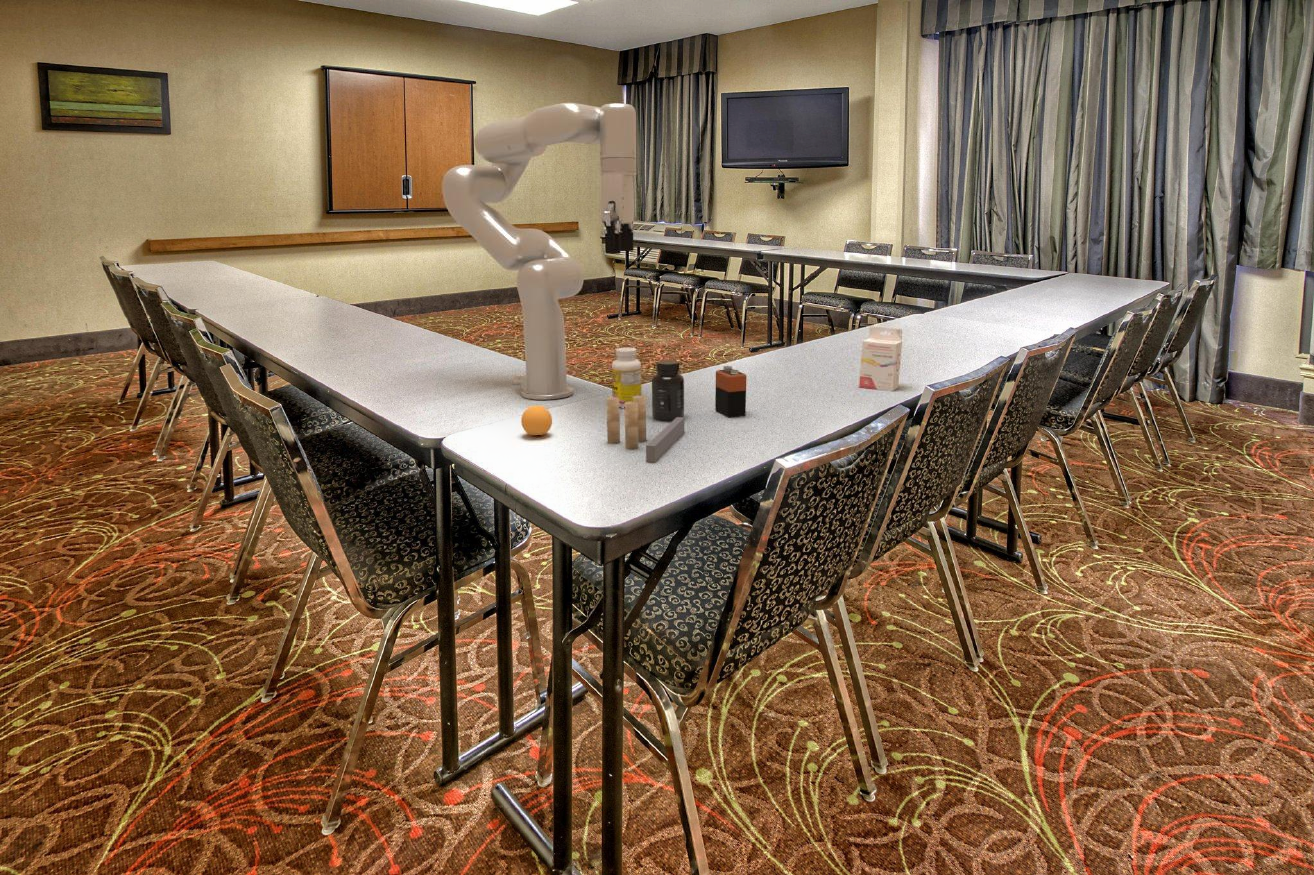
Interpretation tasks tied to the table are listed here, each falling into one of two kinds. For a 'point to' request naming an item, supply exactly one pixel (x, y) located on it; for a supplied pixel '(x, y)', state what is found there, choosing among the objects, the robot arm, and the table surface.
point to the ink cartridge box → (881, 359)
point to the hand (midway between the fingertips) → (619, 252)
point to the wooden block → (613, 420)
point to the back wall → (664, 440)
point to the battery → (730, 392)
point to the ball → (536, 420)
